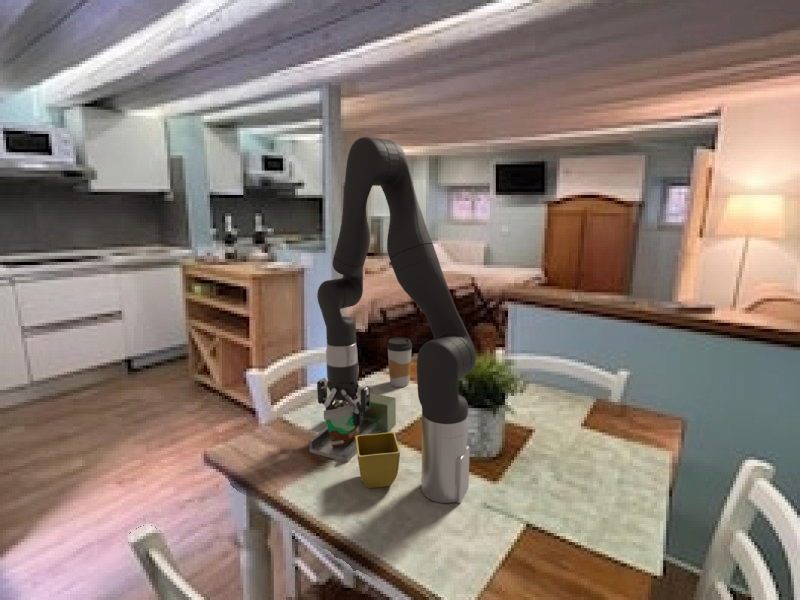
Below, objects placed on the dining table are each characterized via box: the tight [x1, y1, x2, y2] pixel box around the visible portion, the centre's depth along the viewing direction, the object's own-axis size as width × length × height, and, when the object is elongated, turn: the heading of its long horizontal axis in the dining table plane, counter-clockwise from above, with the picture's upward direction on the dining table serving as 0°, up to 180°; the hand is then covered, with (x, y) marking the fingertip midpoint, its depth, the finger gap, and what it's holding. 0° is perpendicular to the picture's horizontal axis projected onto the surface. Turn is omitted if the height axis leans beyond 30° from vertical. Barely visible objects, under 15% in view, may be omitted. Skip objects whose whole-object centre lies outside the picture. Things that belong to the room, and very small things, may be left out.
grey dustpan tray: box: [308, 392, 397, 463], centre depth 114 cm, size 16×21×8 cm
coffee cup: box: [386, 337, 413, 388], centre depth 147 cm, size 8×8×15 cm
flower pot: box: [355, 431, 401, 489], centre depth 95 cm, size 9×9×9 cm
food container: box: [323, 397, 360, 448], centre depth 111 cm, size 12×6×10 cm, turn 164°
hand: (344, 422), depth 111 cm, fingers open, 7 cm apart
